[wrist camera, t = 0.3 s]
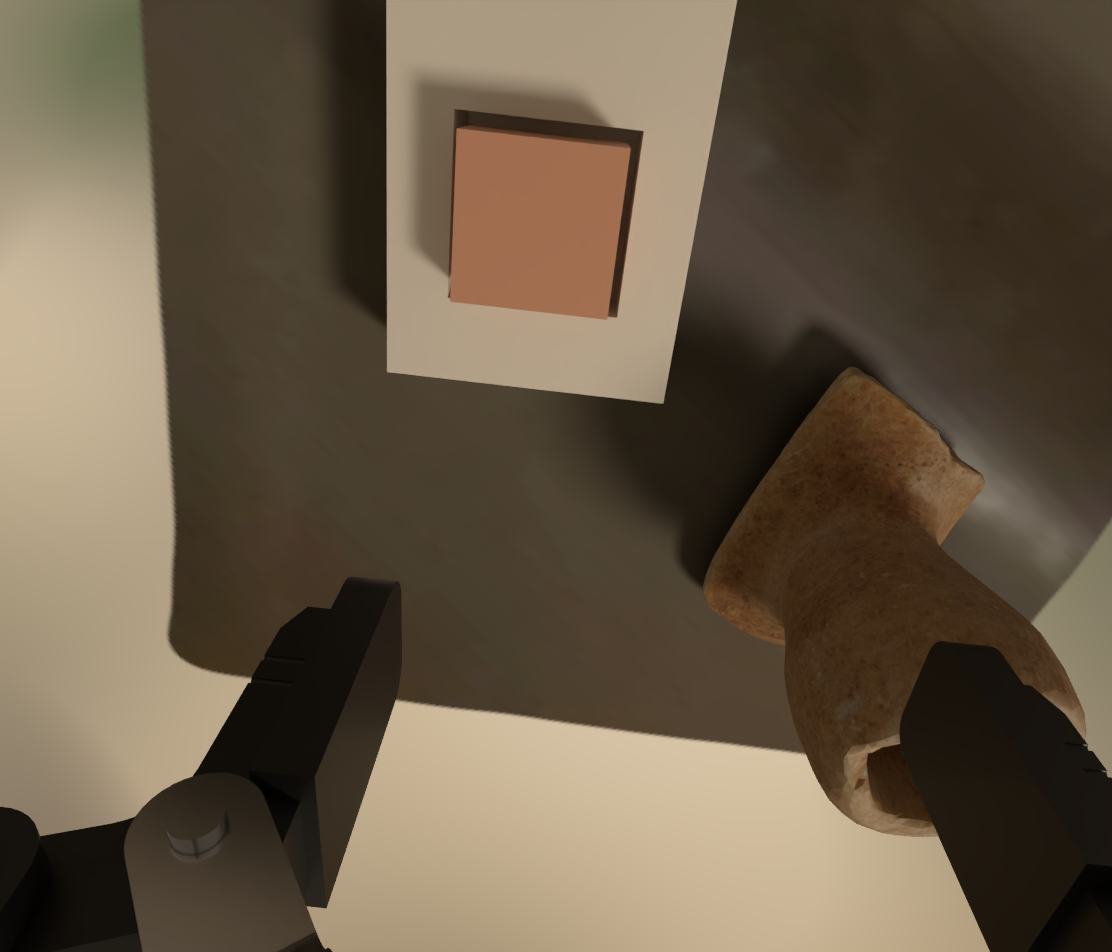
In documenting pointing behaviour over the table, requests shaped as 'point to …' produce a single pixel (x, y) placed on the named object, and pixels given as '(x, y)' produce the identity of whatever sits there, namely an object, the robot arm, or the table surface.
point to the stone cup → (866, 591)
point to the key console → (561, 109)
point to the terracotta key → (536, 220)
